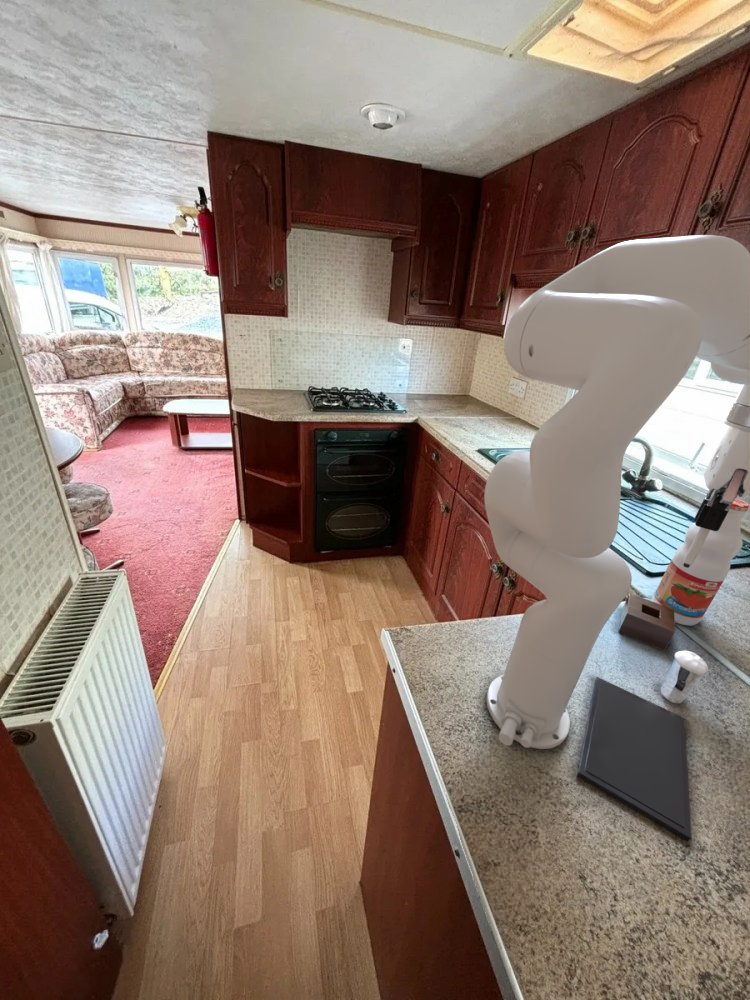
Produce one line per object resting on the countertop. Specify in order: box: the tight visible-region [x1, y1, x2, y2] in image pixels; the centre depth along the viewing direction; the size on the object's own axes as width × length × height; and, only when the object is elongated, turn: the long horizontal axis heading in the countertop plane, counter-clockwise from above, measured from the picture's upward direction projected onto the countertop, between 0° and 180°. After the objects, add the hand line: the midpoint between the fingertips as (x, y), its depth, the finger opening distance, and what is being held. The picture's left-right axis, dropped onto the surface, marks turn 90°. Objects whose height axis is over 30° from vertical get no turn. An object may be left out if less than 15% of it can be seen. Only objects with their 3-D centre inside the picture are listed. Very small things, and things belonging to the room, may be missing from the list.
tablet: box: [576, 676, 692, 843], centre depth 60 cm, size 20×13×1 cm, turn 147°
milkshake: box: [660, 650, 715, 704], centre depth 67 cm, size 4×5×10 cm
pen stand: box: [618, 593, 676, 652], centre depth 83 cm, size 8×8×5 cm
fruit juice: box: [651, 497, 750, 626], centre depth 85 cm, size 9×9×28 cm
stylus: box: [683, 495, 718, 568], centre depth 69 cm, size 1×1×14 cm
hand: (705, 524), depth 69 cm, fingers closed on stylus, 1 cm apart
